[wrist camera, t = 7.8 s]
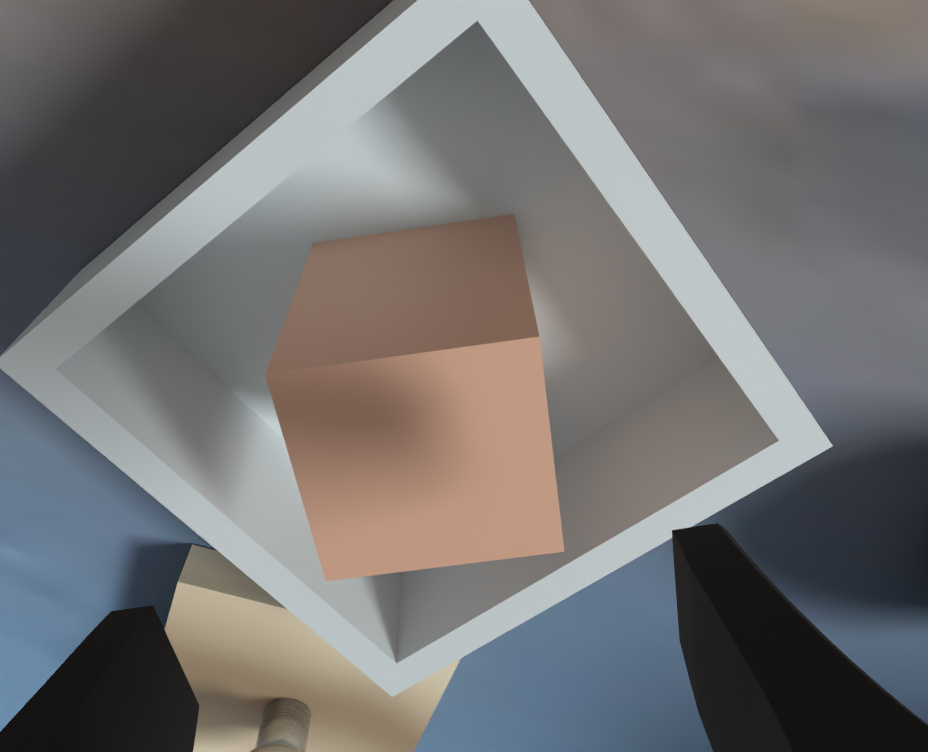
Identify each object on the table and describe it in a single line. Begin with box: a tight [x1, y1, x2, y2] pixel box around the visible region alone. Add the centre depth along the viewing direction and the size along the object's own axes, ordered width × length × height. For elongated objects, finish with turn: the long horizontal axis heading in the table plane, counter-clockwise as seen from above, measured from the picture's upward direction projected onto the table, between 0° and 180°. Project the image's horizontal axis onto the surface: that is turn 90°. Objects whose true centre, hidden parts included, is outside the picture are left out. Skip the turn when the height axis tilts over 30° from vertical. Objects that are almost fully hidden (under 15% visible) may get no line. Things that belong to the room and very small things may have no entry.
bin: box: [0, 0, 833, 697], centre depth 19 cm, size 12×12×4 cm
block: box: [265, 214, 564, 581], centre depth 18 cm, size 4×4×6 cm
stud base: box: [165, 544, 461, 752], centre depth 25 cm, size 8×8×5 cm
